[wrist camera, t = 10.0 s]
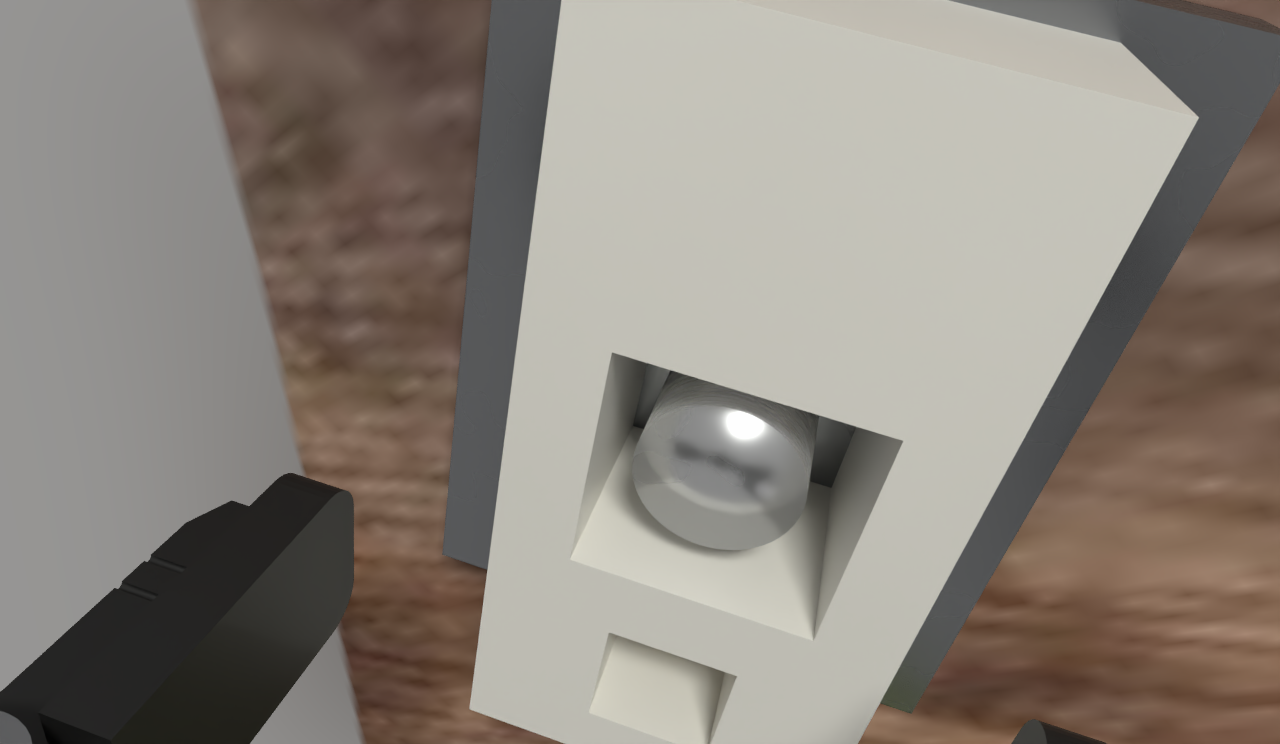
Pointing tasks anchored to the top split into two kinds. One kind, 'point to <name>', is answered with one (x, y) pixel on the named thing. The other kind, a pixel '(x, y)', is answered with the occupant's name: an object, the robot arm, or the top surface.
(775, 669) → the white block with recesses
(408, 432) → the top surface
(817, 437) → the base plate
